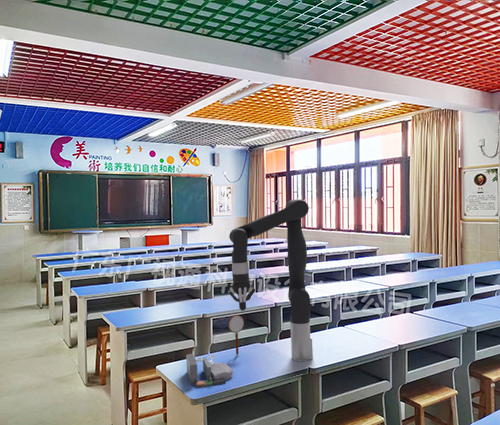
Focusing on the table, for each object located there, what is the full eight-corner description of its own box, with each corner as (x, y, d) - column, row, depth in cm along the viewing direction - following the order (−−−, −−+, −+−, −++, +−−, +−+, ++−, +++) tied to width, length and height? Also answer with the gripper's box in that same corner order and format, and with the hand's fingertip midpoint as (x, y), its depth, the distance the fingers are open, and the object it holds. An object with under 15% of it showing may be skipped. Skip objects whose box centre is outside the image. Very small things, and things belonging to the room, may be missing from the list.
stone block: (226, 373, 186) (205, 372, 182) (228, 362, 186) (207, 361, 183) (234, 384, 175) (212, 383, 171) (236, 372, 175) (214, 371, 171)
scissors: (212, 353, 206) (229, 365, 188) (212, 355, 206) (229, 367, 188) (192, 358, 201) (208, 370, 183) (192, 359, 201) (208, 372, 183)
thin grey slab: (206, 369, 185) (206, 356, 185) (213, 384, 168) (212, 371, 168) (203, 369, 184) (202, 357, 184) (209, 385, 167) (209, 371, 167)
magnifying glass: (230, 358, 200) (228, 316, 200) (228, 357, 201) (227, 316, 201) (246, 354, 203) (244, 314, 204) (244, 353, 205) (242, 313, 205)
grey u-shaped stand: (218, 368, 187) (217, 350, 187) (225, 383, 170) (224, 363, 170) (187, 372, 183) (186, 354, 183) (191, 388, 166) (190, 368, 166)
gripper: (252, 270, 194) (254, 306, 193) (224, 272, 190) (226, 310, 190) (256, 271, 186) (259, 310, 186) (228, 274, 183) (230, 313, 183)
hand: (242, 310), depth 188 cm, fingers closed
